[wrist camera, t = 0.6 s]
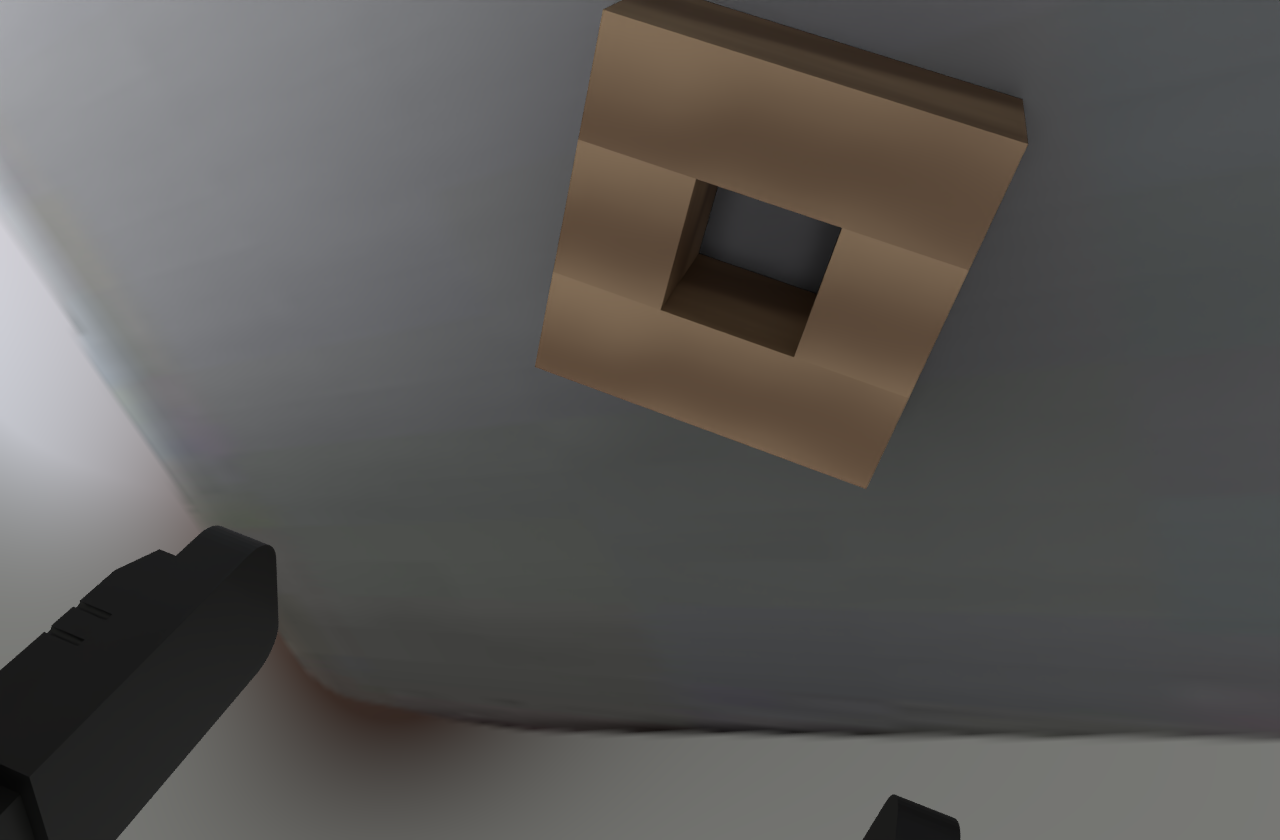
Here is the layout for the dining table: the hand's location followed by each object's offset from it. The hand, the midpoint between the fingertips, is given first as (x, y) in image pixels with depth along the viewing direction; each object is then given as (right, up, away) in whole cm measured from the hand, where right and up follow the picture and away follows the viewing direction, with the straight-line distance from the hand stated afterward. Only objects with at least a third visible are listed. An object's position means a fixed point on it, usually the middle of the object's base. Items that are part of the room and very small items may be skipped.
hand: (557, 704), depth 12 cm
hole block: (+6, +11, +22) cm, 25 cm away
